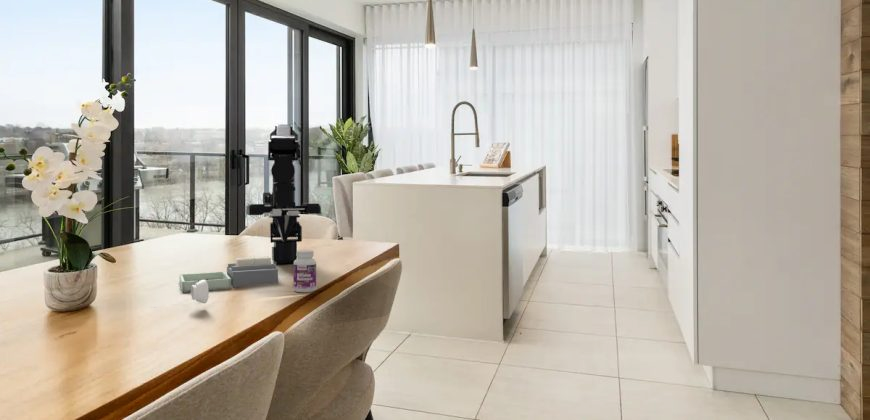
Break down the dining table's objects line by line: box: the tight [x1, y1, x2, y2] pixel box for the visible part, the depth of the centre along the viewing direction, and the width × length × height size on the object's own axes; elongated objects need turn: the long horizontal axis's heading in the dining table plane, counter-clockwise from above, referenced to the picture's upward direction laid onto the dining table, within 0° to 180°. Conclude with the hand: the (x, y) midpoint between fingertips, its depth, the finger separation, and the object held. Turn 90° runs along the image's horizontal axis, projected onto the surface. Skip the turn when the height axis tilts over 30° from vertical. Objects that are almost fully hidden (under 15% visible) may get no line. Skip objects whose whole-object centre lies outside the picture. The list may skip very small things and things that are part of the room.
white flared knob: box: [190, 280, 210, 304], centre depth 120 cm, size 5×3×5 cm, turn 33°
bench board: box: [226, 262, 279, 288], centre depth 147 cm, size 11×12×5 cm
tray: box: [179, 271, 232, 293], centre depth 142 cm, size 11×14×2 cm
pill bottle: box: [292, 249, 317, 293], centre depth 135 cm, size 5×5×10 cm
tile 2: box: [252, 256, 272, 265], centre depth 148 cm, size 4×4×2 cm
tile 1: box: [234, 256, 254, 266], centre depth 146 cm, size 4×4×2 cm
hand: (284, 241), depth 150 cm, fingers closed
